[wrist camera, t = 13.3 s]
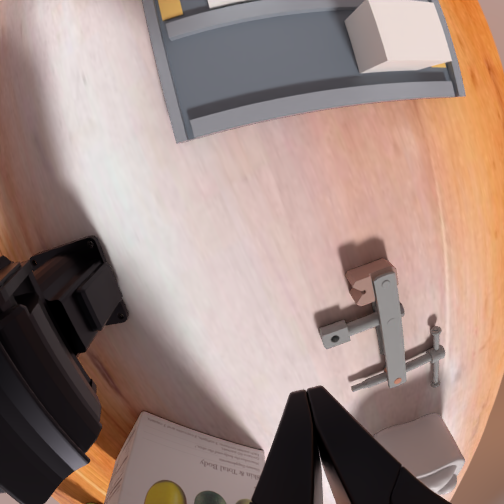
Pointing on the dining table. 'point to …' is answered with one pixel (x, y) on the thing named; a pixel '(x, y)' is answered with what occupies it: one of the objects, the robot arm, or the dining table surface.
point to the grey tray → (272, 63)
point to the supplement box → (182, 467)
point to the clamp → (382, 324)
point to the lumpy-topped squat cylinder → (425, 451)
